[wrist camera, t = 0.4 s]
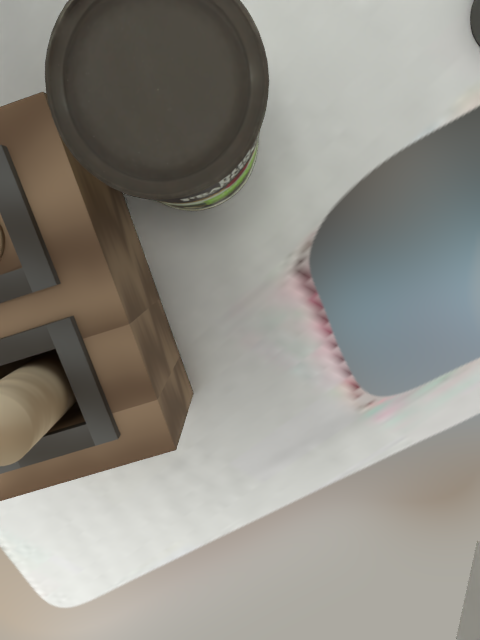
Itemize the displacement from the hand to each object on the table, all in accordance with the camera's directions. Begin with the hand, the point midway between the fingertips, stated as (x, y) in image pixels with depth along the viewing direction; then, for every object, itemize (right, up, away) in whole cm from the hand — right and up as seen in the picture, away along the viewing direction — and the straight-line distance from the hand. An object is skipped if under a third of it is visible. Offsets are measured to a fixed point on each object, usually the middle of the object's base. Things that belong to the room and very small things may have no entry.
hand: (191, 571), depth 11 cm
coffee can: (-3, +19, +24) cm, 31 cm away
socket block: (-13, +8, +26) cm, 30 cm away
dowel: (-11, +2, +21) cm, 24 cm away
